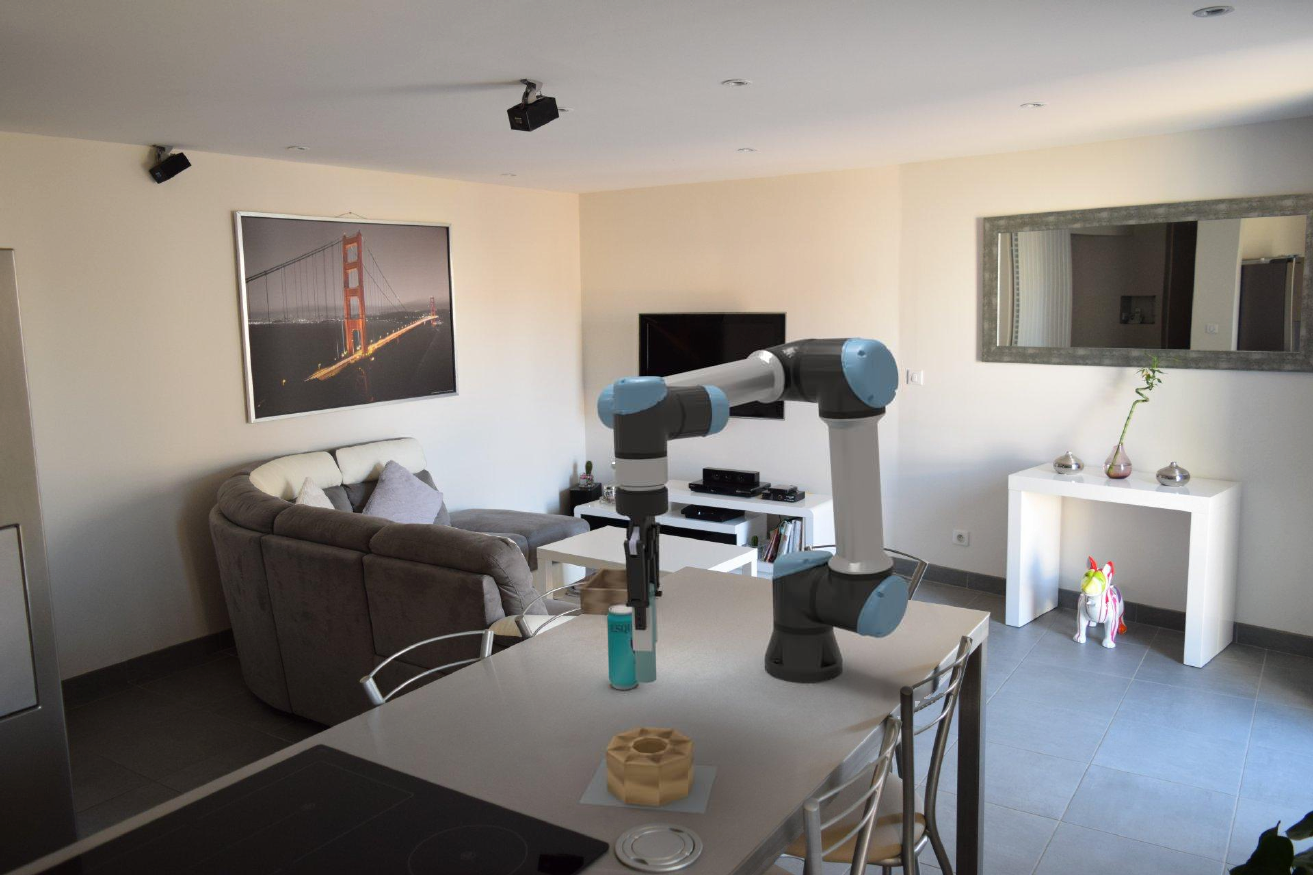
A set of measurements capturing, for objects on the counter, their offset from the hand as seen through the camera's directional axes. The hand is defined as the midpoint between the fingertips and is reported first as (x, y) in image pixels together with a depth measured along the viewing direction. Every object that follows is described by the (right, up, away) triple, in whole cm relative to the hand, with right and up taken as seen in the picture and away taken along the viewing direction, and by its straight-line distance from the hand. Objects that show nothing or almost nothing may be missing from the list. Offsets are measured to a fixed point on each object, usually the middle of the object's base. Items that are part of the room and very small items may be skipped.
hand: (645, 645), depth 135 cm
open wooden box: (-7, -11, +94) cm, 95 cm away
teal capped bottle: (0, -5, +1) cm, 5 cm away
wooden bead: (+1, -21, +2) cm, 21 cm away
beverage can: (-5, -17, +42) cm, 45 cm away
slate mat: (+1, -21, +2) cm, 22 cm away
